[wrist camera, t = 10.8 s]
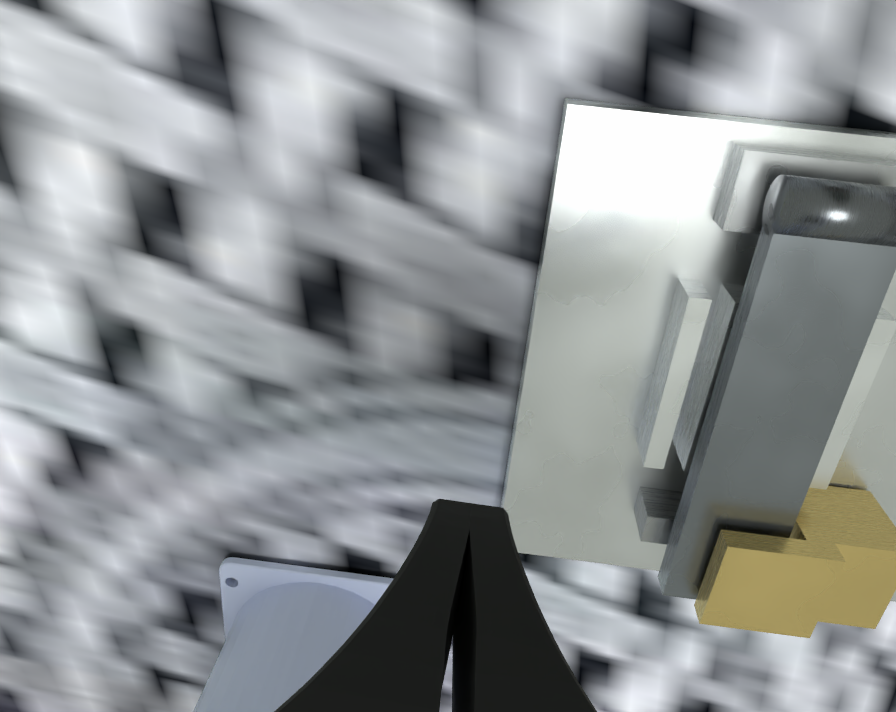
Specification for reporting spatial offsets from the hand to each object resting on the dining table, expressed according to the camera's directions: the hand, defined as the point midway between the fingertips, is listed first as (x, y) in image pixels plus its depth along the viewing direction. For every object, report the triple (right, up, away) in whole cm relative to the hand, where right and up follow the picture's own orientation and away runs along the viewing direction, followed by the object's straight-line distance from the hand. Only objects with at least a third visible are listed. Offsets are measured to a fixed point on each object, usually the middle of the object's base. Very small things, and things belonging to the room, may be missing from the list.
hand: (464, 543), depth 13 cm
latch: (+10, -2, +10) cm, 14 cm away
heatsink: (+10, +3, +9) cm, 13 cm away
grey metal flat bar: (+8, +2, +6) cm, 11 cm away
